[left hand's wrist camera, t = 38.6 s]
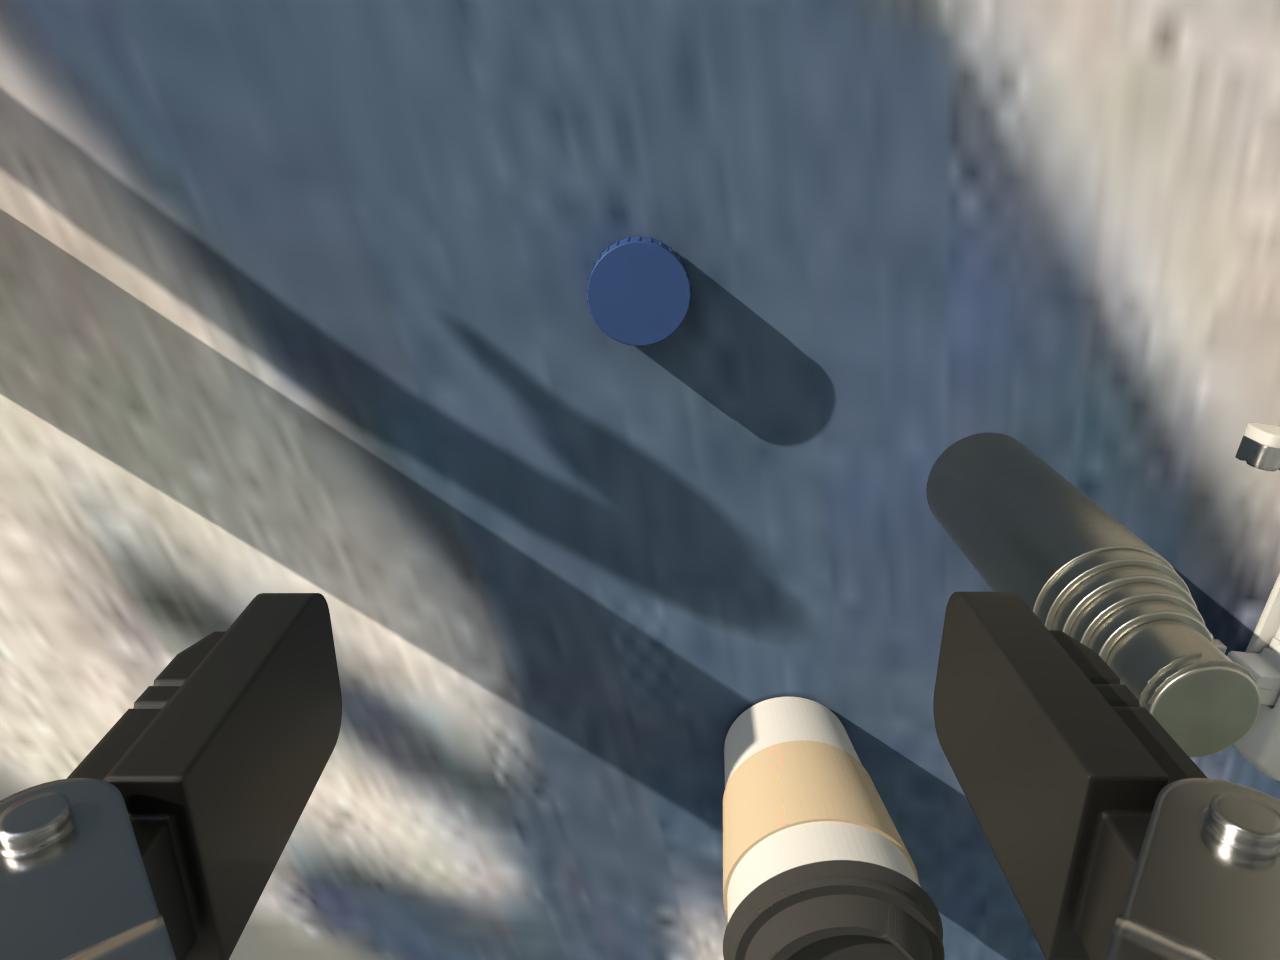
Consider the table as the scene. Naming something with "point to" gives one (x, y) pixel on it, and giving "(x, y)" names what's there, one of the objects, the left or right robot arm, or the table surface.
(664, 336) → the cap
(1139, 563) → the bottle
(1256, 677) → the right robot arm
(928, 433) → the table surface
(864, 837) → the coffee cup
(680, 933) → the table surface
